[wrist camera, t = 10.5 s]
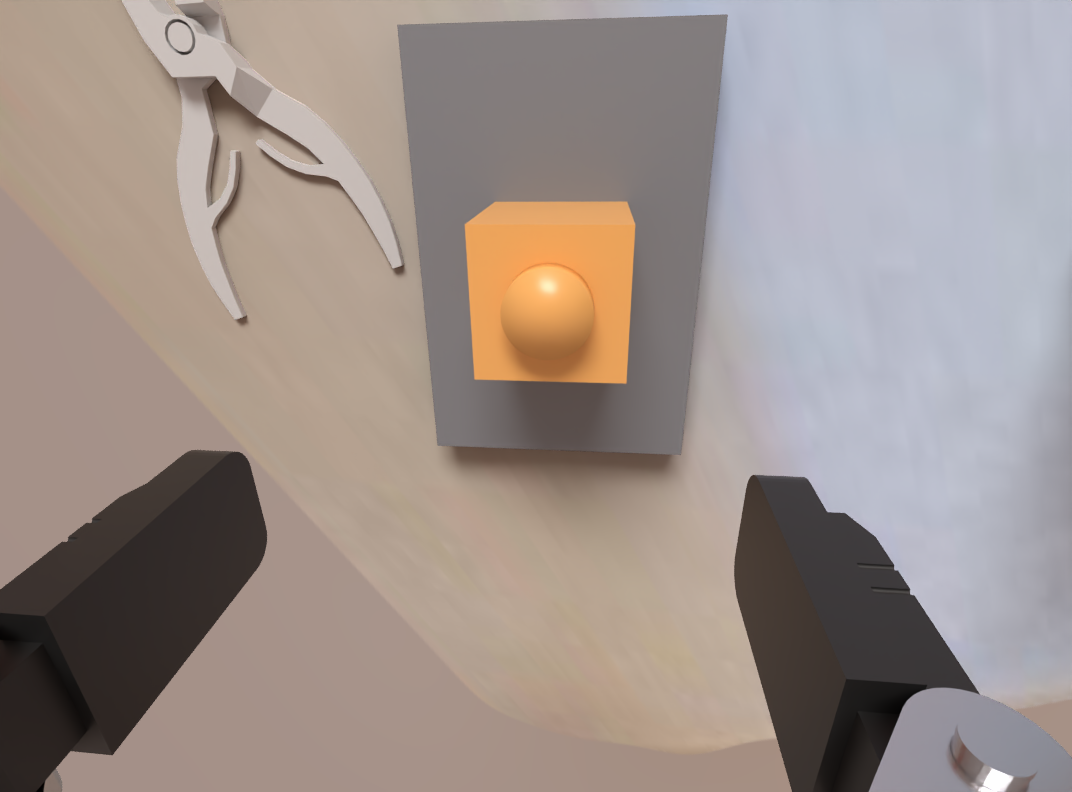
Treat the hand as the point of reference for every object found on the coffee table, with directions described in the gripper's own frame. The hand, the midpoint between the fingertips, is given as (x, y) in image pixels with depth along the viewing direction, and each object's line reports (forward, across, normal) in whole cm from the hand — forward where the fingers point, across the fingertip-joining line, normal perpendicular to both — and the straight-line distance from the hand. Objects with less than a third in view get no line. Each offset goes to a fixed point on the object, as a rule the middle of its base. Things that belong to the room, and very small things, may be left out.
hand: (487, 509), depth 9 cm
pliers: (+20, +14, -6) cm, 25 cm away
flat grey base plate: (+19, 0, 0) cm, 19 cm away
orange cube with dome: (+17, 0, 0) cm, 17 cm away
